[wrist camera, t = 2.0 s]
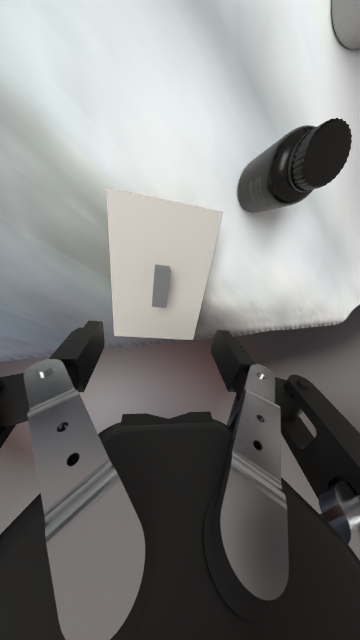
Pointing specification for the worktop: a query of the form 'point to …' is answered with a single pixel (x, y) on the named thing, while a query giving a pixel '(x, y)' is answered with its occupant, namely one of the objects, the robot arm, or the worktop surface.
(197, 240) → the mailer lid
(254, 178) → the supplement bottle
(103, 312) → the worktop surface
